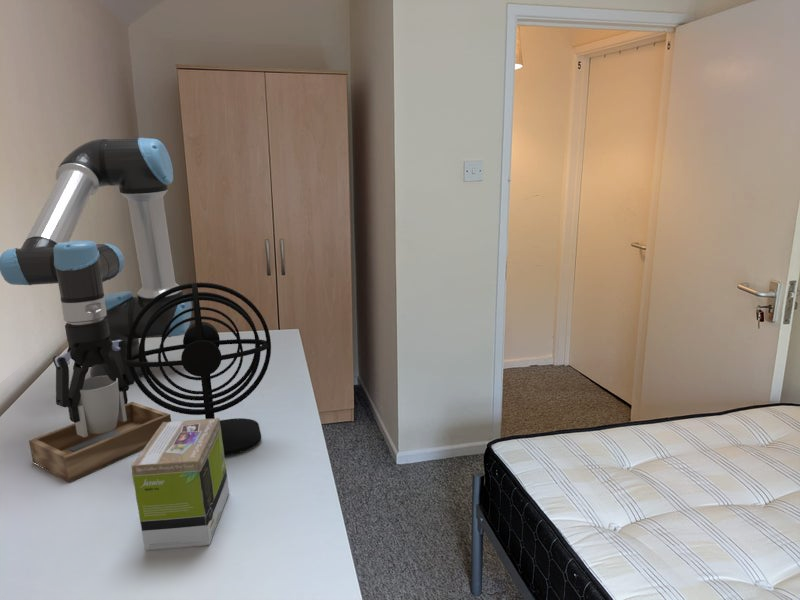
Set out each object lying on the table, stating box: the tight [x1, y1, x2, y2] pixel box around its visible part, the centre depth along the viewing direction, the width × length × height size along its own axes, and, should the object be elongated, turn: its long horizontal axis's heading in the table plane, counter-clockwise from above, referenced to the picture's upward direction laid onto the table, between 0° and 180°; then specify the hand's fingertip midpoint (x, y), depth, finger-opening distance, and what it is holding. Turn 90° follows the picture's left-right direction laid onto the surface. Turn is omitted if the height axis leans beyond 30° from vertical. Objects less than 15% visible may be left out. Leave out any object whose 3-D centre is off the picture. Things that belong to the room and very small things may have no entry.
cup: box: [79, 376, 119, 434], centre depth 117 cm, size 8×8×10 cm
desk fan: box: [125, 282, 272, 456], centre depth 116 cm, size 27×18×35 cm, turn 109°
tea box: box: [131, 417, 230, 551], centre depth 92 cm, size 15×10×15 cm, turn 5°
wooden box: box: [28, 401, 172, 483], centre depth 119 cm, size 14×22×5 cm, turn 147°
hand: (102, 427), depth 118 cm, fingers closed on cup, 8 cm apart
